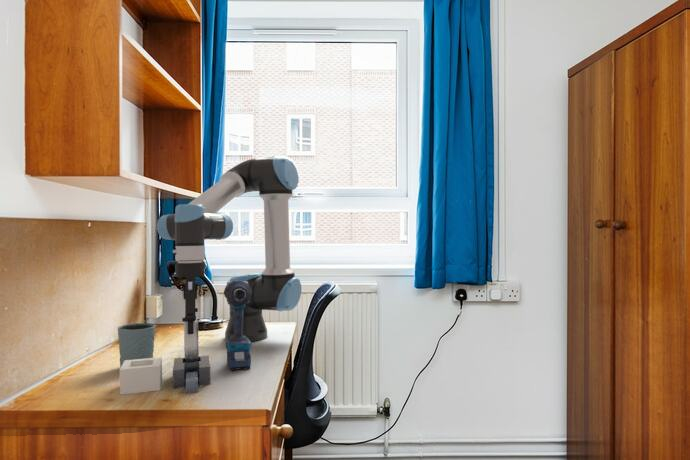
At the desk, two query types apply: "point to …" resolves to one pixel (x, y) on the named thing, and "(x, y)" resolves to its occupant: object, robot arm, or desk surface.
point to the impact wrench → (238, 325)
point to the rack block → (141, 375)
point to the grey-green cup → (136, 341)
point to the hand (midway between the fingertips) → (190, 341)
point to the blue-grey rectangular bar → (191, 382)
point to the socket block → (182, 368)
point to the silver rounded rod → (192, 348)
